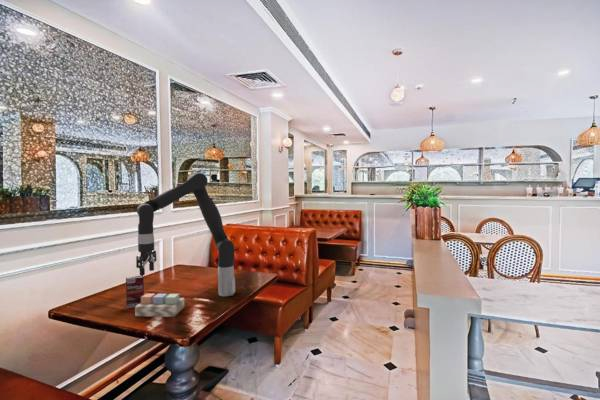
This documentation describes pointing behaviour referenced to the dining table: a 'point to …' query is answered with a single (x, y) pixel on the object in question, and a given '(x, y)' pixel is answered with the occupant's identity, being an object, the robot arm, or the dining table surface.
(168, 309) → the tile board
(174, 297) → the tile sage
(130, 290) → the supplement box
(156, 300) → the pale blue cube
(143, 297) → the tile terracotta
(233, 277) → the robot arm
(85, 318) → the dining table surface
